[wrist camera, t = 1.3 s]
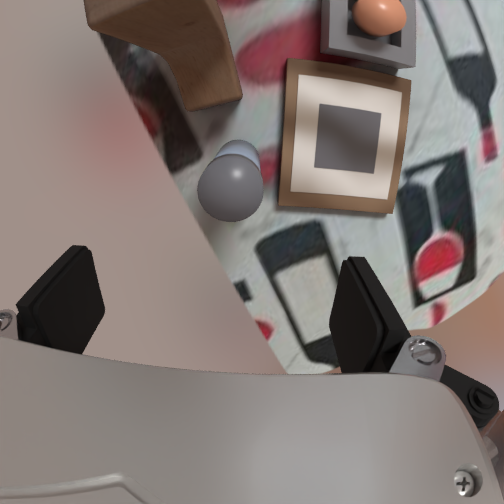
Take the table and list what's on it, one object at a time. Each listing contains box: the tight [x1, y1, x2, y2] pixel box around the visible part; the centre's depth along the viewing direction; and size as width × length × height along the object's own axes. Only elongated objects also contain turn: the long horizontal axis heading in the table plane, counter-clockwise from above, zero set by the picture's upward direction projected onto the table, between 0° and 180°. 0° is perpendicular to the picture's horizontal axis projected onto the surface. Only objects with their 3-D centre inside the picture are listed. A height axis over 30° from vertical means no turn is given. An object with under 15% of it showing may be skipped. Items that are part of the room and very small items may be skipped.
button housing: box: [320, 0, 416, 69], centre depth 19 cm, size 8×8×4 cm
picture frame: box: [278, 58, 411, 214], centre depth 26 cm, size 14×12×1 cm
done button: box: [352, 0, 407, 37], centre depth 17 cm, size 4×4×2 cm
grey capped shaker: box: [197, 140, 263, 222], centre depth 24 cm, size 4×4×10 cm
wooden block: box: [84, 0, 243, 112], centre depth 15 cm, size 9×4×18 cm, turn 13°
